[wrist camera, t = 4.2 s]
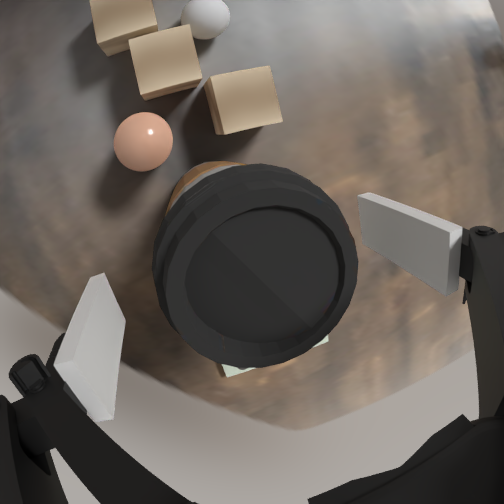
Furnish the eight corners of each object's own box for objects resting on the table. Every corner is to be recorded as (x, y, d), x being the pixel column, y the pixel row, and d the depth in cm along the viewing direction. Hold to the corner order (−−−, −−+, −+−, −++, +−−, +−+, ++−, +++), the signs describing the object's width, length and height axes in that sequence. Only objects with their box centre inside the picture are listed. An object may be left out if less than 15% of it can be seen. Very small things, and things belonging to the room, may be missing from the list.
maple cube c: (203, 85, 22) (210, 76, 18) (254, 74, 22) (269, 65, 19) (215, 134, 23) (224, 134, 20) (265, 122, 24) (282, 121, 20)
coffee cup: (210, 270, 27) (257, 403, 14) (137, 202, 24) (100, 296, 10) (284, 202, 27) (398, 279, 13) (216, 125, 23) (284, 117, 9)
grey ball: (175, 11, 19) (177, -7, 16) (220, 3, 19) (228, -15, 16) (184, 49, 20) (187, 36, 17) (229, 40, 21) (239, 26, 18)
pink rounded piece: (119, 125, 21) (107, 123, 17) (165, 110, 22) (164, 104, 17) (132, 170, 23) (123, 179, 18) (177, 155, 23) (179, 161, 19)
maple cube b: (134, 54, 19) (128, 39, 16) (186, 40, 20) (189, 24, 16) (145, 101, 21) (140, 94, 17) (197, 86, 22) (202, 78, 18)
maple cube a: (99, 15, 17) (88, -4, 14) (149, -1, 18) (146, -22, 14) (108, 56, 19) (97, 43, 15) (158, 40, 20) (157, 24, 16)
